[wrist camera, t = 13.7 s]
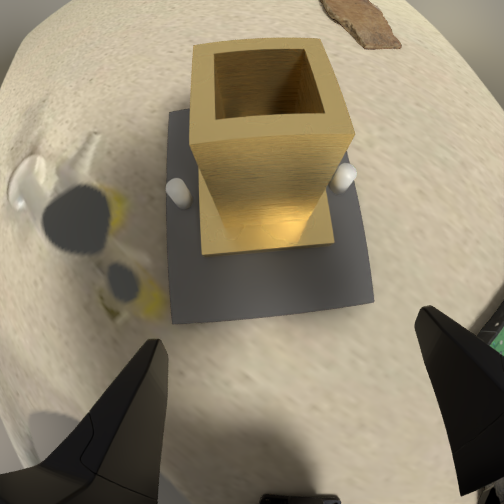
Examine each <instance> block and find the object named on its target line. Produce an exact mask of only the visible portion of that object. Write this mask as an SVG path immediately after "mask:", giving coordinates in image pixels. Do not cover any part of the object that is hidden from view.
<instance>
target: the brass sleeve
mask: <svg viewBox="0 0 504 504" xmlns="http://www.w3.org/2000/svg"><path fill="white" fill-rule="evenodd" d="M354 136H355V132H354V128H353V125H352V122H351V119H350V116H349V113H348V110H347V107H346V104H345V101H344V98H343V95H342V92H341V90H340V87H339V84H338V81H337V79H336V76H335V74H334V71H333V69H332V66H331V64H330V61H329V59H328V56H327V54H326V52H325V49H324V47H323V45H322V42H321V40H320V39H317V38H257V39H241V40H230V41H221V42H213V43H206V44H199V45H193V58H192V74H191V95H190V126H189V145H190V148H191V150H192V152H193V155H194V157H195V159H196V162H197V164H198V167H199V205H200V229H201V249H202V255H203V256H204V257H216V256H227V255H238V254H249V253H260V252H271V251H281V250H292V249H303V248H314V247H325V246H331V245H332V244H334V243H335V242H334V236H333V229H332V223H331V216H330V210H329V205H328V199H327V193H326V187H327V185H328V183H329V182H330V180H331V178H332V176H333V174H334V173H335V171H336V169H337V167H338V165H339V163H340V162H341V160H342V158H343V156H344V154H345V152H346V150H347V149H348V147H349V145H350V143H351V141H352V139H353V137H354Z"/></svg>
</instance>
